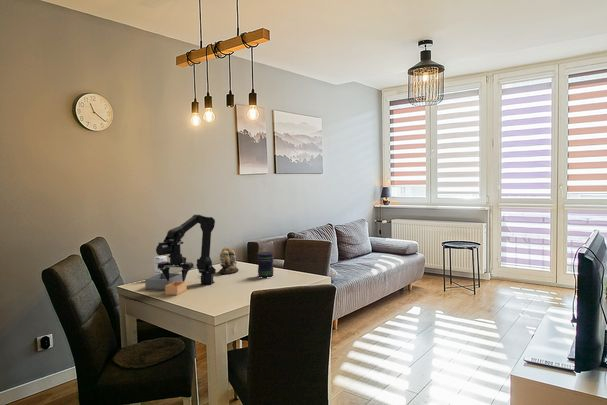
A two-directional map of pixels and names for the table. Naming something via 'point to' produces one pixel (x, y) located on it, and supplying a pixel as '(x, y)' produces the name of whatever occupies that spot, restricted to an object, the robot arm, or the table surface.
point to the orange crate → (175, 288)
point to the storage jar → (265, 264)
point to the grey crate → (161, 281)
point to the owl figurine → (228, 261)
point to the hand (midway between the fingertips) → (176, 281)
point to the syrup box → (157, 261)
